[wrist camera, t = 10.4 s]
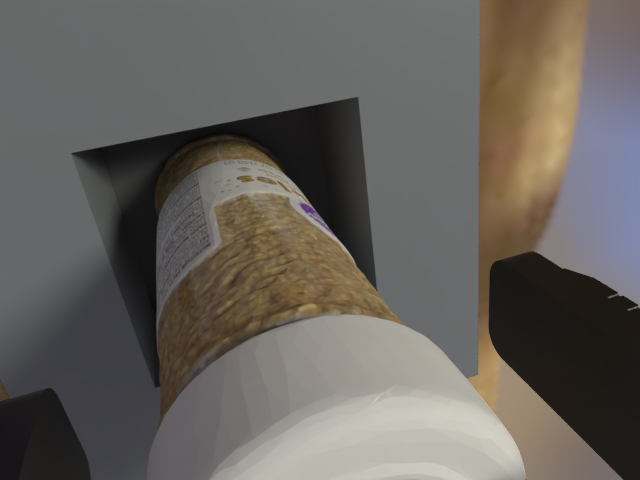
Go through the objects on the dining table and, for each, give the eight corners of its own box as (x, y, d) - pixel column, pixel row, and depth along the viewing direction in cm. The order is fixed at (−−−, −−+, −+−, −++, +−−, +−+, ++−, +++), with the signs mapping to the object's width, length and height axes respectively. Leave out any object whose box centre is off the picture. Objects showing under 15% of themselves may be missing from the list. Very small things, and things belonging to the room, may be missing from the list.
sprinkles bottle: (312, 174, 18) (612, 478, 6) (242, 277, 19) (391, 720, 7) (197, 101, 16) (320, 346, 4) (124, 220, 17) (53, 710, 5)
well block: (-85, 10, 14) (-196, 8, 9) (393, -54, 17) (479, -79, 12) (87, 401, 20) (69, 510, 15) (415, 305, 23) (478, 374, 18)
